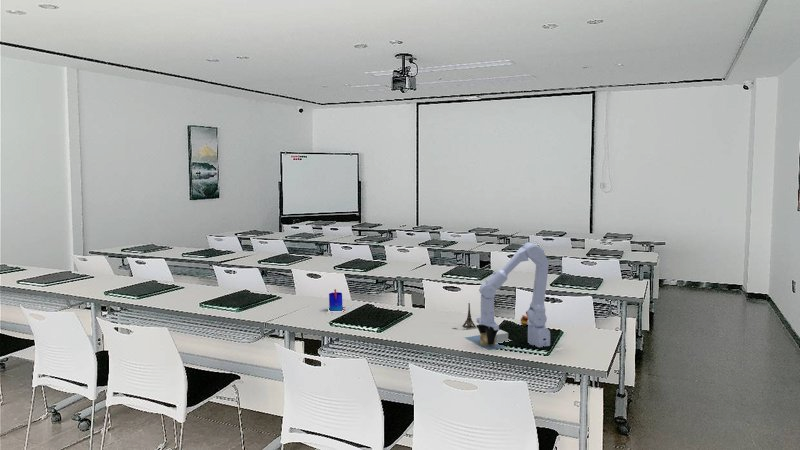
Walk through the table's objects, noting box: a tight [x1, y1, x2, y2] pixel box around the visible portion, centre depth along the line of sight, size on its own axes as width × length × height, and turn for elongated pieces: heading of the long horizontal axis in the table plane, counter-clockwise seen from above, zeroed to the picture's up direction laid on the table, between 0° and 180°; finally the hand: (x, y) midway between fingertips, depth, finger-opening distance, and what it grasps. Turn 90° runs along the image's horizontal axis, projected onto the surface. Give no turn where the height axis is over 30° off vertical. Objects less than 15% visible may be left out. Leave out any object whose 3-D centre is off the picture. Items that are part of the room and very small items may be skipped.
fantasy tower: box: [328, 288, 346, 312], centre depth 311 cm, size 12×12×12 cm
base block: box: [495, 329, 509, 343], centre depth 249 cm, size 6×6×4 cm
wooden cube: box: [479, 332, 495, 346], centre depth 243 cm, size 4×4×4 cm
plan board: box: [464, 334, 512, 351], centre depth 248 cm, size 20×16×1 cm
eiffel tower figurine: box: [451, 302, 478, 331], centre depth 273 cm, size 15×10×13 cm
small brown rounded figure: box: [520, 310, 529, 325], centre depth 276 cm, size 8×10×7 cm
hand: (487, 342), depth 243 cm, fingers closed on wooden cube, 4 cm apart
